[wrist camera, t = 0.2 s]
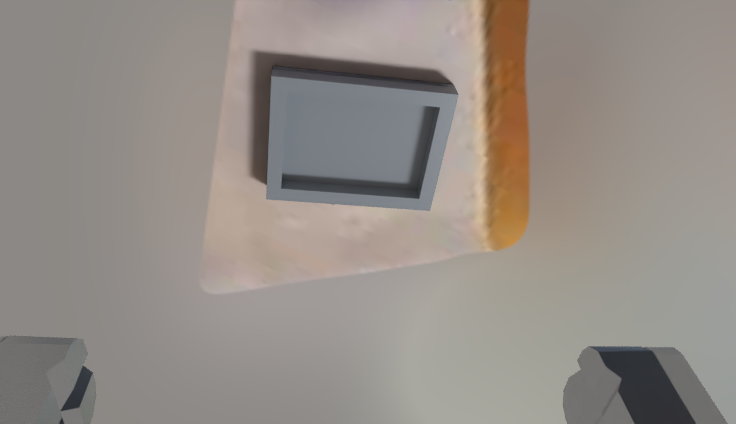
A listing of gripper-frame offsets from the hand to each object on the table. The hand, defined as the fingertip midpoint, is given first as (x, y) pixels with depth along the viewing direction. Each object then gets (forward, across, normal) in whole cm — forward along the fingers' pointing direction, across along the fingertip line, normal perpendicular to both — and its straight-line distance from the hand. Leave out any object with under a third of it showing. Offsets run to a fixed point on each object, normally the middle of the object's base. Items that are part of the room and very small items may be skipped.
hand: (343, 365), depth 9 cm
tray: (+47, -5, +21) cm, 52 cm away
